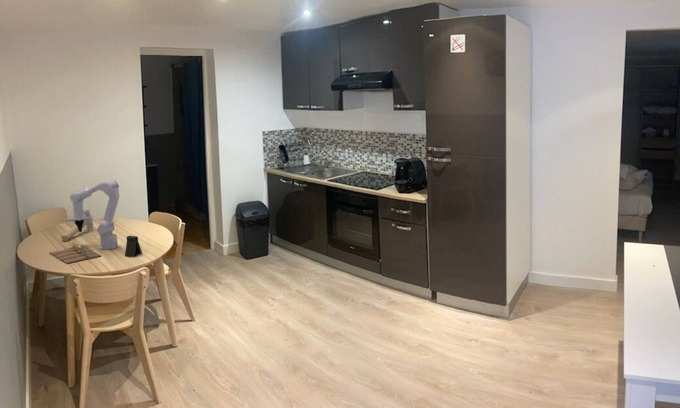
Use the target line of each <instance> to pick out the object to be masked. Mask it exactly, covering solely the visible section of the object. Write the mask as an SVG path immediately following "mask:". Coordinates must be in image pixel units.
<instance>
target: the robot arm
mask: <svg viewBox="0 0 680 408" xmlns="http://www.w3.org/2000/svg"><path fill="white" fill-rule="evenodd" d="M119 189H120V184H119V183H118V181H117V180H115V179H111V180H107V181H103V182H100V183H98V184H95V185H94V186H92V187H83V188H82V189H80V190H77V191H76V192H73V193H71V195H70V196H69V200H70V202H71V203H72V210H73V217H69V218H66V223H69V222H74V224H75V225H76V226H77V227H78V230H79V231H78V233H82V231H83V228H82V226H83V223H84V220H93V217H85V215H84V211H83V210H84V200H85V199H87V198H89V197H92V195H93V193H95V192H97V191H102V193H104V194H105V195H106V196H107V197H108V201H107V204H106V205H107V206H106V209H105V213H104V216H103V220H102V221H101V222H100V223H99V225H98V226H97V228H96V231H97V233H98V235H99V236H100V237H99V238H100V247H99V248H98V250H114V249H115V248H117V247H118V246H119V244H118V236H117V234H116V233H113V232H114V230H115V222H114V221H113V220H114V218H115V217H114V216H115V214H116V209H117V206H118V203H119V200H120V191H119Z"/></svg>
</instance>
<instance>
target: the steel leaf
mask: <svg viewBox="0 0 680 408" xmlns="http://www.w3.org/2000/svg"><path fill="white" fill-rule="evenodd" d="M78 253H79V254H82V255H84V256H86V257H89V255H88V250H87V249H85V248H83V247H80V250H78Z"/></svg>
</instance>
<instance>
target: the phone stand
mask: <svg viewBox="0 0 680 408" xmlns="http://www.w3.org/2000/svg"><path fill="white" fill-rule="evenodd" d="M141 254H143V250H142V248H141V245H140V242H139V236H137V235H127V236H126V244H125V252H124V257H126V258H127V257H128V258H135V257H137V256H139V255H141Z"/></svg>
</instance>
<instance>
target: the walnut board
mask: <svg viewBox="0 0 680 408" xmlns="http://www.w3.org/2000/svg"><path fill="white" fill-rule="evenodd" d="M81 246H82V247H83V248H85V249H87V250H88V255H89V257H86V256H84V255H82V254H79V253H78V251H76V250H74V249H73V247H70V248H66V249H65V248H64V249H61V250H55V251H49V254H50V255H51V256H52V257H54V256H55V257H54V258H56V259H57V260H59V261H61V262H62V261H63V262H62V263H64V264H65V265H70V264H74V263H79V262H83V261H88V260H92V259H97V258H102V255H101V254H99V253H97V252H95V251H94V250H91V249H89V248H88V247H86V246H84V245H81Z"/></svg>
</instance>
